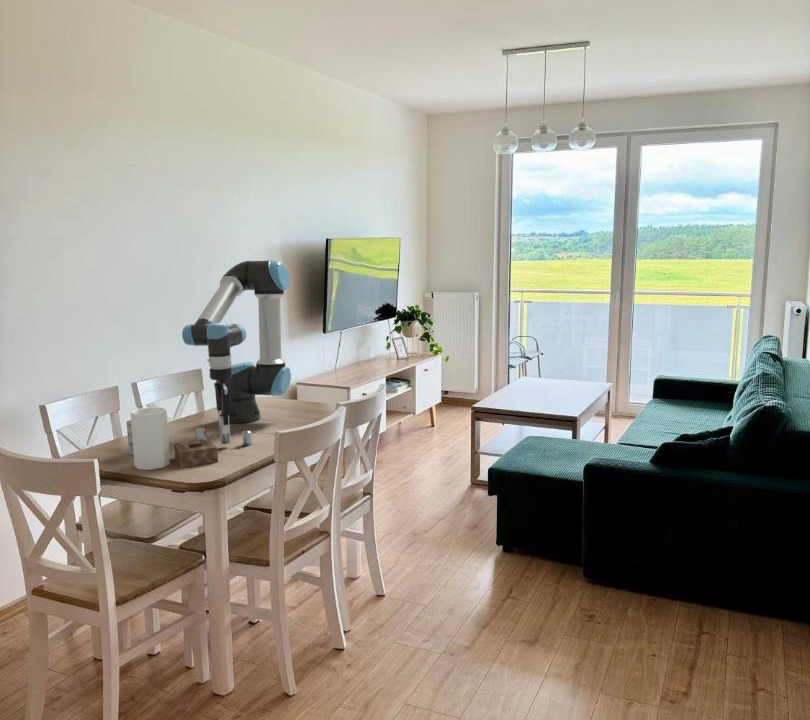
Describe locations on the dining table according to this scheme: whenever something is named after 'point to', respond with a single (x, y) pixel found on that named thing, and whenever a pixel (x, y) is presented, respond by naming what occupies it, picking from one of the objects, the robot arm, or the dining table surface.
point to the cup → (150, 438)
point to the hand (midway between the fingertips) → (224, 431)
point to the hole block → (195, 452)
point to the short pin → (247, 438)
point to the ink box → (130, 437)
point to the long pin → (224, 437)
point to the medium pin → (201, 434)
